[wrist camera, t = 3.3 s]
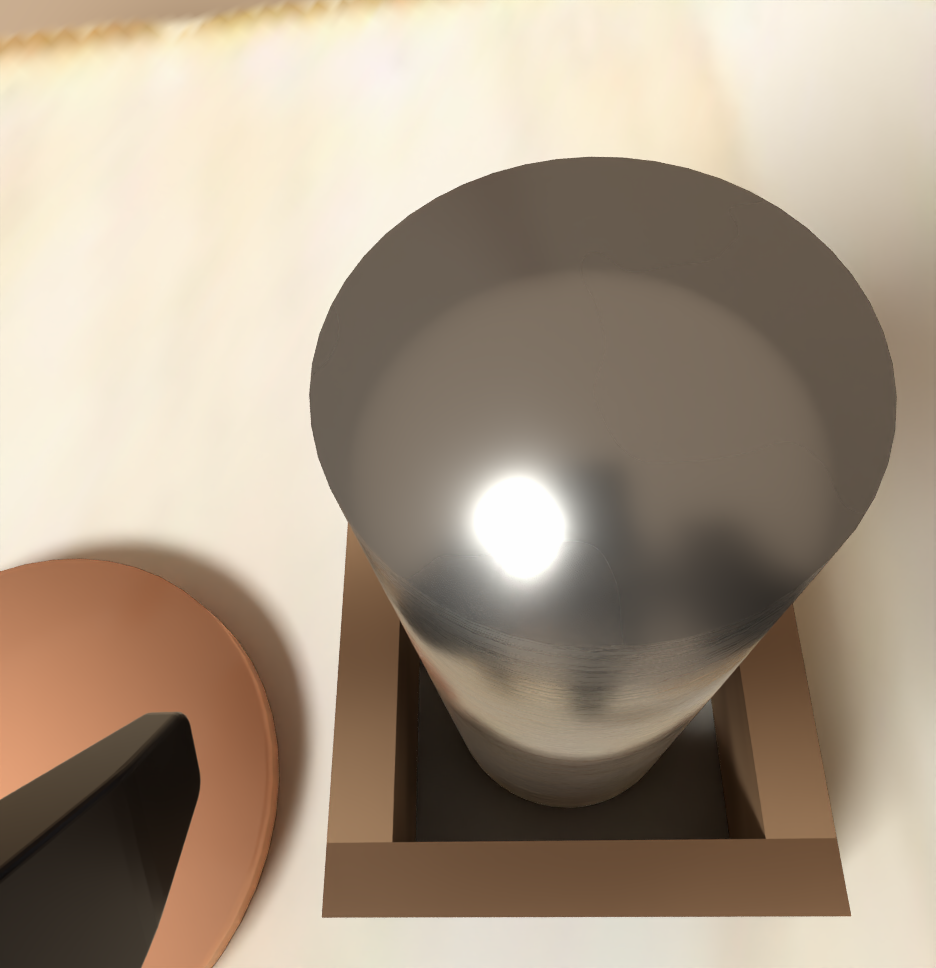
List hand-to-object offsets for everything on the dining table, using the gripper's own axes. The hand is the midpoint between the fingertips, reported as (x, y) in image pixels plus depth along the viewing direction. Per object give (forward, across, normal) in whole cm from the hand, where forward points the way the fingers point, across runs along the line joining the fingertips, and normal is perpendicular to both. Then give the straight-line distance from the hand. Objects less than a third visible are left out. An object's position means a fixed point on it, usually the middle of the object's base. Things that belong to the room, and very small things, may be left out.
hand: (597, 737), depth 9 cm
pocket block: (+9, 0, +5) cm, 10 cm away
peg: (+9, 0, +5) cm, 10 cm away
